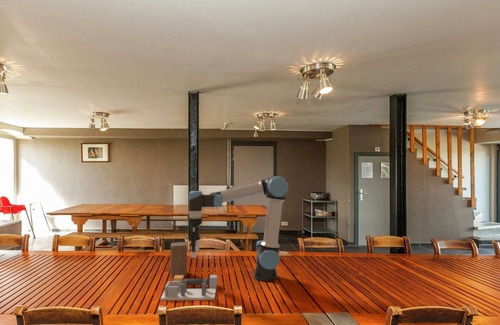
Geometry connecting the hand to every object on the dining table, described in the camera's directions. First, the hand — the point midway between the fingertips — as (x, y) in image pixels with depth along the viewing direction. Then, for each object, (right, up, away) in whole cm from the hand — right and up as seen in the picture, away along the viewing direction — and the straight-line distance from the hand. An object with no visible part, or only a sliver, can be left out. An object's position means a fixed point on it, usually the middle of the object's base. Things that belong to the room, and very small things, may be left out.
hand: (195, 254), depth 179 cm
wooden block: (-14, -19, +20) cm, 31 cm away
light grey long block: (-1, -19, -13) cm, 23 cm away
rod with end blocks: (+1, -19, -1) cm, 19 cm away
